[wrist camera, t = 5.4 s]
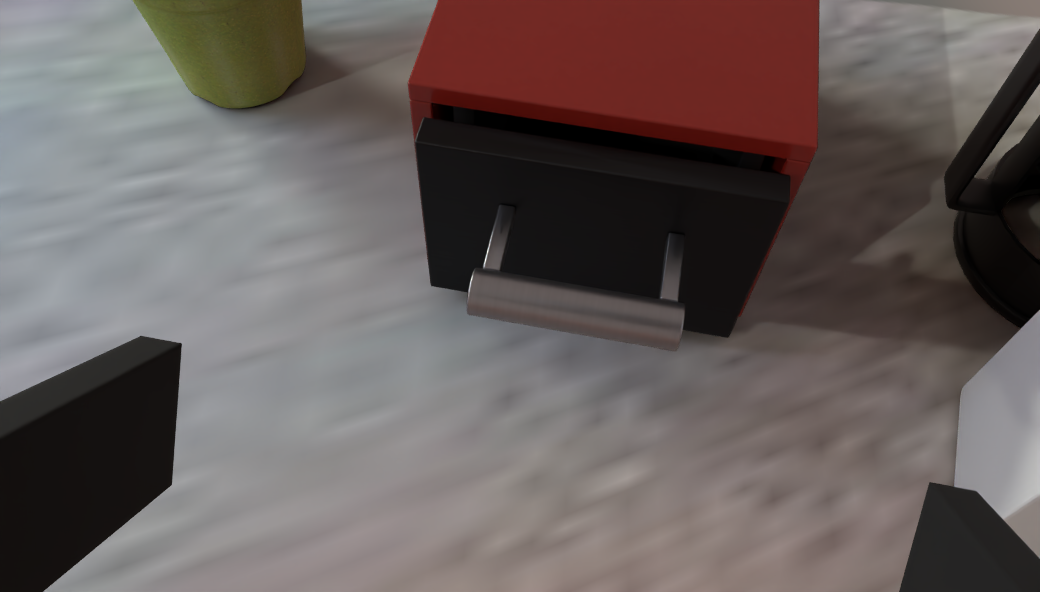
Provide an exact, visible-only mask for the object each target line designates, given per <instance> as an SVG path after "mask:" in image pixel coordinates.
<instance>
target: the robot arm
mask: <svg viewBox="0 0 1040 592" xmlns="http://www.w3.org/2000/svg"><path fill="white" fill-rule="evenodd" d="M181 347H182V343H176V342H171V341H165V340H160V339H155V338H149V337H144V336H140V337H138V338H136V339H134V340H131V341H129V342H127V343H125V344H123V345H121V346H119V347H116V348H114V349H112V350H110V351H108V352H106V353H103V354H101V355H99V356H97V357H95V358H93V359H91V360H88V361H86V362H84V363H82V364H80V365H78V366H76V367H73V368H71V369H69V370H67V371H65V372H63V373H60V374H58V375H56V376H54V377H52V378H50V379H48V380H45V381H43V382H41V383H39V384H37V385H35V386H33V387H30V388H28V389H26V390H24V391H22V392H20V393H18V394H15V395H13V396H11V397H9V398H7V399H5V400H2V401H0V592H43V591H44V590H45V589H47V588H48V587H49V586H50V585H51V584H53V583H54V582H55V581H56V580H58V579H59V578H60V577H61V576H62V575H64V574H65V573H66V572H67V571H68V570H70V569H71V568H72V567H73V566H74V565H76V564H77V563H78V562H79V561H80V560H82V559H83V558H84V557H85V556H86V555H88V554H89V553H90V552H91V551H93V550H94V549H95V548H96V547H97V546H99V545H100V544H101V543H102V542H103V541H105V540H106V539H107V538H108V537H109V536H111V535H112V534H113V533H114V532H115V531H117V530H118V529H119V528H120V527H122V526H123V525H124V524H125V523H126V522H128V521H129V520H130V519H131V518H132V517H134V516H135V515H136V514H137V513H138V512H140V511H141V510H142V509H143V508H144V507H146V506H147V505H148V504H149V503H151V502H152V501H153V500H154V499H155V498H157V497H158V496H159V495H160V494H161V493H163V492H164V491H165V490H166V489H167V488H169V487H170V486H171V485H172V475H173V460H174V446H175V432H176V418H177V404H178V390H179V376H180V361H181ZM899 592H1040V558H1039V557H1038V556H1037V555H1036V554H1035V553H1034V552H1033V551H1032V550H1031V549H1030V548H1029V547H1028V545H1027V544H1026V543H1025V542H1024V541H1023V540H1022V539H1021V538H1020V537H1019V536H1018V535H1017V534H1016V533H1015V532H1014V531H1013V529H1012V528H1011V527H1010V526H1009V525H1008V524H1007V523H1006V522H1005V521H1004V520H1003V519H1002V518H1001V517H1000V516H999V515H998V513H997V512H996V511H995V510H994V509H993V508H992V507H991V506H990V505H989V504H988V503H987V502H986V501H985V500H984V499H983V497H982V496H981V495H980V494H979V493H978V492H977V491H974V490H969V489H963V488H958V487H953V486H947V485H942V484H936V483H931V482H929V486H928V490H927V493H926V497H925V500H924V504H923V508H922V511H921V515H920V518H919V522H918V526H917V529H916V533H915V537H914V540H913V544H912V547H911V551H910V555H909V558H908V562H907V565H906V569H905V573H904V576H903V580H902V583H901V587H900V591H899Z"/></svg>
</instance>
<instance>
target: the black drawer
mask: <svg viewBox="0 0 1040 592" xmlns="http://www.w3.org/2000/svg"><path fill="white" fill-rule="evenodd" d="M453 118H454V122H452V121H446V120H440V119H433V118H427V117H423V119H422V121H421V124H420V127H419V130H418V133H417V136H416V139H415V150H416V159H417V168H418V177H419V186H420V195H421V203H422V212H423V221H424V230H425V239H426V247H427V256H428V265H429V274H430V283H431V286H435V287H440V288H446V289H452V290H458V291H463V292H468V297H467V314H468V315H473V316H478V317H484V318H490V319H495V320H501V321H506V322H512V323H518V324H523V325H529V326H535V327H540V328H546V329H552V330H557V331H563V332H569V333H574V334H580V335H586V336H591V337H597V338H603V339H608V340H614V341H619V342H625V343H631V344H636V345H642V346H648V347H653V348H659V349H665V350H670V351H677V349H678V347H679V343H680V340H681V335H682V330H686V331H692V332H698V333H703V334H709V335H715V336H721V337H726V338H728V337H729V336H730V334H731V331H732V329H733V327H734V325H735V322H736V320H737V318H738V316H739V314H740V311H741V309H742V307H743V305H744V303H745V300H746V298H747V296H748V294H749V291H750V289H751V287H752V285H753V283H754V280H755V278H756V276H757V274H758V272H759V269H760V267H761V265H762V263H763V260H764V258H765V256H766V254H767V252H768V249H769V247H770V245H771V243H772V241H773V238H774V236H775V234H776V232H777V229H778V227H779V225H780V223H781V221H782V218H783V216H784V214H785V212H786V210H787V207H788V205H789V203H790V182H791V177H790V175H786V174H779V173H773V172H767V171H760V168H761V166H762V163H763V161H764V158H765V155H759V154H753V153H746V152H740V151H734V150H727V149H721V148H715V147H708V146H702V145H696V144H689V143H683V142H677V141H670V140H664V139H658V138H651V137H645V136H639V135H632V134H626V133H619V132H613V131H607V130H600V129H594V128H588V127H581V126H575V125H569V124H562V123H556V122H550V121H543V120H537V119H531V118H524V117H518V116H512V115H505V114H499V113H492V112H486V111H480V110H473V109H467V108H461V107H454V106H453Z"/></svg>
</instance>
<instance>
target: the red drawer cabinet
mask: <svg viewBox="0 0 1040 592" xmlns="http://www.w3.org/2000/svg"><path fill="white" fill-rule="evenodd" d="M818 88H819V0H438V2H437V5H436V7H435V10H434V13H433V16H432V18H431V21H430V24H429V26H428V29H427V32H426V35H425V37H424V40H423V43H422V45H421V48H420V51H419V54H418V56H417V59H416V62H415V65H414V67H413V70H412V73H411V75H410V78H409V81H408V90H409V98H410V109H411V118H412V126H413V135H414V144H415V139H416V136H417V133H418V130H419V127H420V124H421V121H422V119H423V117H427V118H433V119H440V120H446V121H452V122H454V118H453V106H454V107H461V108H467V109H473V110H480V111H486V112H492V113H499V114H505V115H512V116H518V117H524V118H531V119H537V120H543V121H550V122H556V123H562V124H569V125H575V126H581V127H588V128H594V129H600V130H607V131H613V132H619V133H626V134H632V135H639V136H645V137H651V138H658V139H664V140H670V141H677V142H683V143H689V144H696V145H702V146H708V147H715V148H721V149H727V150H734V151H740V152H746V153H753V154H759V155H765V158H764V161H763V163H762V166H761V168H760V171H767V172H773V173H779V174H786V175H790V177H791V182H790V203H789V205H788V207H787V210H786V212H785V214H784V216H783V218H782V221H781V223H780V225H779V227H778V229H777V232H776V234H775V236H774V238H773V241H772V243H771V245H770V247H769V249H768V252H767V254H766V256H765V258H764V260H763V263H762V265H761V267H760V269H759V272H758V274H757V276H756V278H755V280H754V283H753V285H752V287H751V289H750V291H749V294H748V296H747V298H746V300H745V303H744V305H743V307H742V309H741V311H740V314H739V316H738V317H740V316H741V315H742V313H743V310H744V308H745V306H746V304H747V301H748V299H749V297H750V295H751V293H752V290H753V288H754V286H755V284H756V282H757V279H758V277H759V275H760V273H761V271H762V269H763V266H764V264H765V262H766V260H767V258H768V255H769V253H770V251H771V249H772V247H773V244H774V242H775V240H776V238H777V236H778V233H779V231H780V229H781V227H782V225H783V222H784V220H785V218H786V216H787V214H788V212H789V209H790V207H791V205H792V203H793V201H794V198H795V196H796V194H797V192H798V190H799V187H800V185H801V183H802V181H803V179H804V176H805V174H806V172H807V170H808V168H809V165H810V162H811V161H812V159H813V157H814V154H815V152H816V150H817V148H818ZM415 153H416V150H415ZM416 161H417V159H416ZM417 170H418V168H417ZM418 179H419V177H418ZM419 188H420V186H419ZM420 197H421V195H420ZM421 205H422V203H421ZM422 214H423V212H422ZM423 223H424V221H423ZM424 232H425V230H424ZM425 241H426V239H425ZM426 249H427V247H426ZM427 259H428V256H427Z"/></svg>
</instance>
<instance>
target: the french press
mask: <svg viewBox="0 0 1040 592" xmlns="http://www.w3.org/2000/svg"><path fill="white" fill-rule="evenodd" d="M1039 84H1040V29H1039V31H1038V32H1037V34H1036V35H1035V37H1034V38H1033V40H1032V41H1031V43H1030V44H1029V46H1028V47H1027V49H1026V50H1025V52H1024V53H1023V55H1022V56H1021V58H1020V59H1019V61H1018V63H1017V64H1016V66H1015V67H1014V69H1013V70H1012V72H1011V73H1010V75H1009V76H1008V78H1007V79H1006V81H1005V82H1004V84H1003V85H1002V87H1001V88H1000V90H999V91H998V93H997V94H996V96H995V98H994V99H993V101H992V102H991V104H990V105H989V107H988V108H987V110H986V111H985V113H984V114H983V116H982V117H981V119H980V120H979V122H978V123H977V125H976V126H975V128H974V129H973V131H972V132H971V134H970V136H969V137H968V139H967V140H966V142H965V143H964V145H963V146H962V148H961V149H960V151H959V152H958V154H957V155H956V157H955V158H954V160H953V161H952V163H951V164H950V166H949V167H948V169H947V171H946V173H945V176H944V183H945V195H946V204H947V206H948V208H950V209H954V210H958V213H957V216H956V219H955V222H954V236H953V241H954V246H955V251H956V255H957V258H958V261H959V263H960V265H961V267H962V270H963V272H964V274H965V275H966V277H967V278H968V280H969V281H970V283H971V284H972V286H973V287H974V289H975V290H976V291H977V292H978V293H979V294H980V295H981V296H982V298H983V299H984V300H985V301H986V302H987V303H988V304H989V305H990V306H991V307H992V308H994V309H995V310H996V311H997V312H999V313H1000V314H1001V315H1003V316H1004V317H1005V318H1006V319H1008V320H1009V321H1011V322H1012V323H1014V324H1016V325H1018V326H1019V327H1021V328H1022V327H1023V326H1024V325H1025V324H1026V323H1027V322H1028V321H1029V320H1030V319H1031V318H1032V317H1033V316H1034V315H1035V314H1036V313H1037V312H1038V311H1039V310H1040V261H1039V260H1037V259H1036V258H1035V257H1034V256H1033V255H1032V254H1031V253H1030V252H1029V251H1028V250H1027V249H1026V248H1025V247H1024V246H1023V245H1022V244H1021V243H1020V242H1019V240H1018V239H1017V238H1016V236H1015V235H1014V234H1013V232H1012V231H1011V230H1010V228H1009V227H1008V225H1007V223H1006V221H1005V219H1004V217H1003V215H1002V213H1001V210H1002V209H1003V208H1004V207H1005V205H1006V204H1007V203H1008V201H1009V200H1010V199H1012V198H1015V197H1019V196H1023V195H1030V194H1040V115H1039V117H1038V118H1037V119H1036V121H1035V122H1034V124H1033V125H1032V126H1031V128H1030V129H1029V130H1028V132H1027V133H1026V134H1025V136H1024V137H1023V139H1022V140H1021V141H1020V143H1018V144H1016V145H1015V146H1014V147H1013V148H1011V149H1010V150H1009V151H1008V152H1007V153H1005V155H1004V156H1003V157H1002V159H1001V160H1000V161H999V163H998V164H997V166H996V167H995V168H994V170H993V171H992V172H991V174H990V175H989V177H988V178H987V179H986V180H984V179H978V178H974V176H975V175H976V173H977V172H978V170H979V169H980V168H981V166H982V165H983V163H984V162H985V160H986V159H987V158H988V156H989V155H990V153H991V152H992V151H993V149H994V148H995V146H996V145H997V143H998V142H999V141H1000V139H1001V138H1002V136H1003V135H1004V133H1005V132H1006V131H1007V129H1008V128H1009V126H1010V125H1011V124H1012V122H1013V121H1014V119H1015V118H1016V116H1017V115H1018V114H1019V112H1020V111H1021V109H1022V108H1023V107H1024V105H1025V104H1026V102H1027V101H1028V99H1029V98H1030V97H1031V95H1032V94H1033V92H1034V91H1035V89H1036V88H1037V87H1038V85H1039Z"/></svg>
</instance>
